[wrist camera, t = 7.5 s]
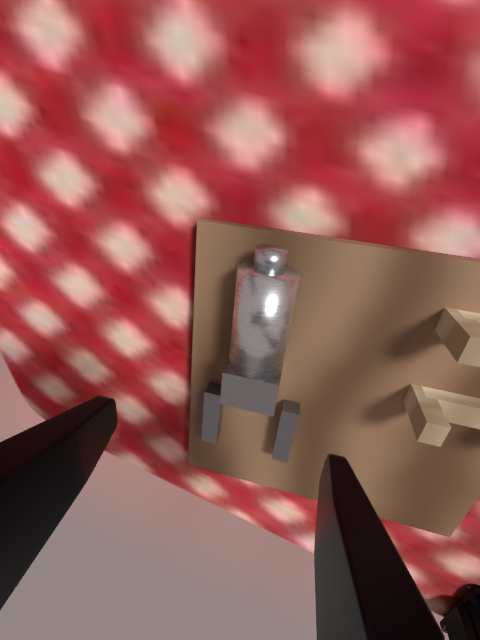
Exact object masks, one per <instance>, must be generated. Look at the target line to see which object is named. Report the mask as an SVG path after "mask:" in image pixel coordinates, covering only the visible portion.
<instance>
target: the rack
mask: <svg viewBox="0 0 480 640" xmlns="http://www.w3.org/2000/svg"><path fill="white" fill-rule="evenodd" d="M435 331H436V333H437V334H438V336H439V337H440V339H441V340H442V341H443V343H444V344H445V346H446V347H447V349H448V350H449V352H450V353H451V355H452V356H453V357H454V359H455V360H456V362H457V363H461V364H466V365H471V366H476V367H480V313H474V312H468V311H462V310H456V309H451V308H445V309H444V311H443V313H442V315H441V318H440V320H439V322H438V324H437V327H436V329H435ZM403 402H404V405H405V408H406V411H407V414H408V416H409V419H410V422H411V425H412V428H413V431H414V434H415V436H416V439H417V441H418V442H422V443H426V444H430V445H434V446H439V447H441V445H442V443H443V442H444V440H445V438H446V436H447V435H448V433H449V431H450V429H451V426H450V424H449V423H454V424H458V425H463V426H467V427H472V428H476V429H480V398H476V397H471V396H466V395H462V394H457V393H452V392H447V391H443V390H438V389H433V388H428V387H424V386H419V385H414V384H411V385H410V387H409V390H408V392H407V394H406V396H405V399H404V401H403Z"/></svg>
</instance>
